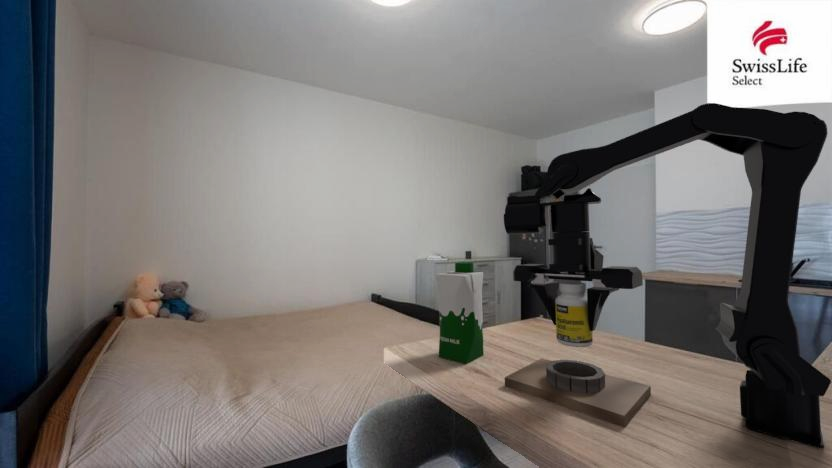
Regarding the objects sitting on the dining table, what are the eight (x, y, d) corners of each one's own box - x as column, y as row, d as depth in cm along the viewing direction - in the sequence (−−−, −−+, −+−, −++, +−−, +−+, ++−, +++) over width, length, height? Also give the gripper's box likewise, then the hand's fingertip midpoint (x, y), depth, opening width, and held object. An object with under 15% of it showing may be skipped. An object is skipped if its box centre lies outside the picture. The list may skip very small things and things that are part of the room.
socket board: (650, 395, 53) (650, 372, 53) (624, 427, 44) (623, 400, 44) (541, 366, 66) (541, 348, 66) (504, 386, 57) (504, 365, 57)
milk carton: (489, 354, 73) (487, 262, 74) (467, 367, 67) (464, 265, 67) (455, 347, 79) (453, 261, 80) (431, 357, 72) (430, 264, 73)
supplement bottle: (551, 343, 55) (549, 283, 55) (563, 336, 59) (561, 280, 59) (587, 350, 52) (584, 285, 52) (597, 342, 56) (594, 282, 56)
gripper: (650, 230, 54) (654, 327, 54) (540, 234, 68) (543, 312, 68) (628, 229, 47) (633, 343, 46) (510, 234, 61) (513, 322, 60)
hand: (573, 327), depth 55 cm, fingers closed on supplement bottle, 5 cm apart
